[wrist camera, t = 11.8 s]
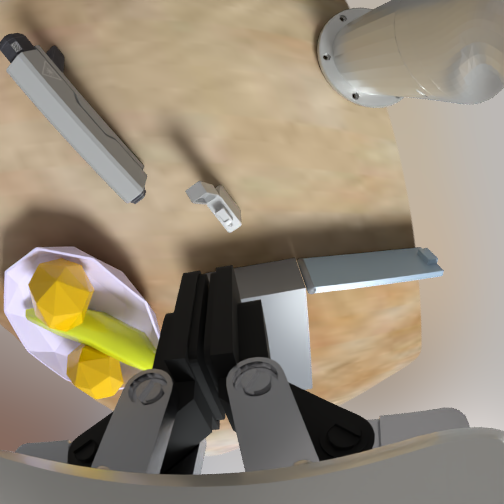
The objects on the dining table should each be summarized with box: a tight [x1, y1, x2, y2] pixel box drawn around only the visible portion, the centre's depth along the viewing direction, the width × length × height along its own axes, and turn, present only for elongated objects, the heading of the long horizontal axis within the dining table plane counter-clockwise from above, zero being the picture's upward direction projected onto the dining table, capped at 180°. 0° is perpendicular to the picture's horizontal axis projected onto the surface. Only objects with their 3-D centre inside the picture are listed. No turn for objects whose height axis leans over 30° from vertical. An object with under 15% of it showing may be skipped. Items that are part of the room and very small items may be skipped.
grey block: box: [205, 258, 312, 390], centre depth 43 cm, size 12×21×8 cm, turn 9°
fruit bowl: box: [4, 247, 160, 399], centre depth 39 cm, size 28×27×11 cm
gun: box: [0, 33, 147, 204], centre depth 27 cm, size 2×25×10 cm, turn 33°
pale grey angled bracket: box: [185, 181, 241, 233], centre depth 33 cm, size 7×2×8 cm, turn 34°
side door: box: [297, 247, 444, 294], centre depth 38 cm, size 2×19×7 cm, turn 94°
